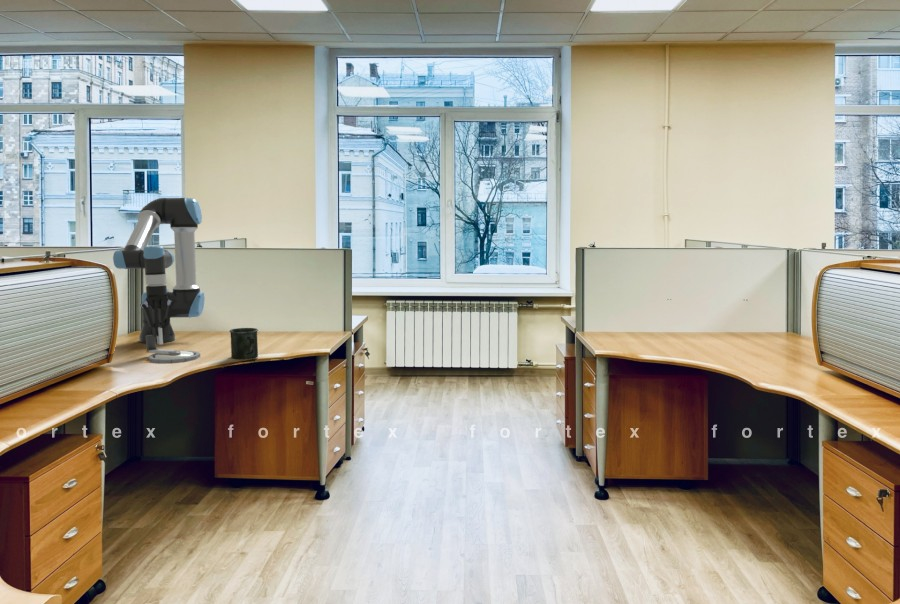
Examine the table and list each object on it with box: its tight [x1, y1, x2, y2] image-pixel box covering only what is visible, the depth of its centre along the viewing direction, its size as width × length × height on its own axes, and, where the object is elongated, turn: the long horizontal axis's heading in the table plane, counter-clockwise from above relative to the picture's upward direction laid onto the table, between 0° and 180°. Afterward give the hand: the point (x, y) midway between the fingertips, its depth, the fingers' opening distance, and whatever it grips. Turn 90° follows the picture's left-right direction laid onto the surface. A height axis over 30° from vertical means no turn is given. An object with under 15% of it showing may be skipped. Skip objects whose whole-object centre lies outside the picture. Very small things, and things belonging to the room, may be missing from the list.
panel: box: [140, 350, 201, 364], centre depth 278 cm, size 26×26×2 cm
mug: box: [228, 327, 259, 363], centre depth 278 cm, size 11×15×12 cm
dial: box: [144, 335, 194, 359], centre depth 278 cm, size 20×14×8 cm
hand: (160, 343), depth 283 cm, fingers closed
